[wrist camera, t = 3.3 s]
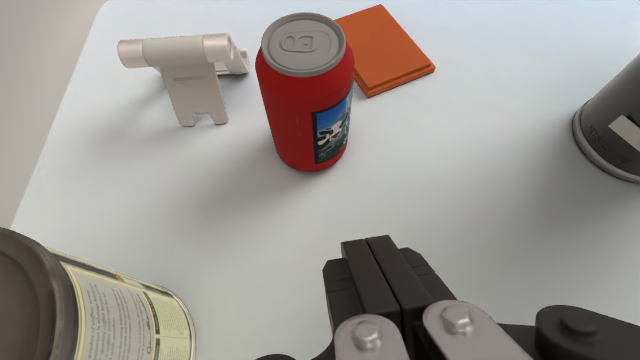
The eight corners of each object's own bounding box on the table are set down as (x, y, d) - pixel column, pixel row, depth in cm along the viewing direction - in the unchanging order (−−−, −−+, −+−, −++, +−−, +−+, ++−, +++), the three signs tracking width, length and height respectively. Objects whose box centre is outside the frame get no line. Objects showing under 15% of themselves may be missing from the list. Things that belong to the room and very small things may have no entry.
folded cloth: (381, 10, 40) (383, 1, 39) (434, 71, 36) (437, 63, 35) (321, 31, 39) (321, 22, 38) (368, 98, 34) (369, 90, 33)
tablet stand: (250, 63, 37) (230, -10, 29) (248, 122, 33) (225, 56, 26) (170, 69, 37) (130, -3, 29) (160, 128, 33) (112, 64, 26)
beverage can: (345, 178, 30) (355, 84, 19) (271, 173, 30) (240, 78, 20) (348, 117, 33) (358, 6, 22) (280, 113, 34) (258, 3, 23)
